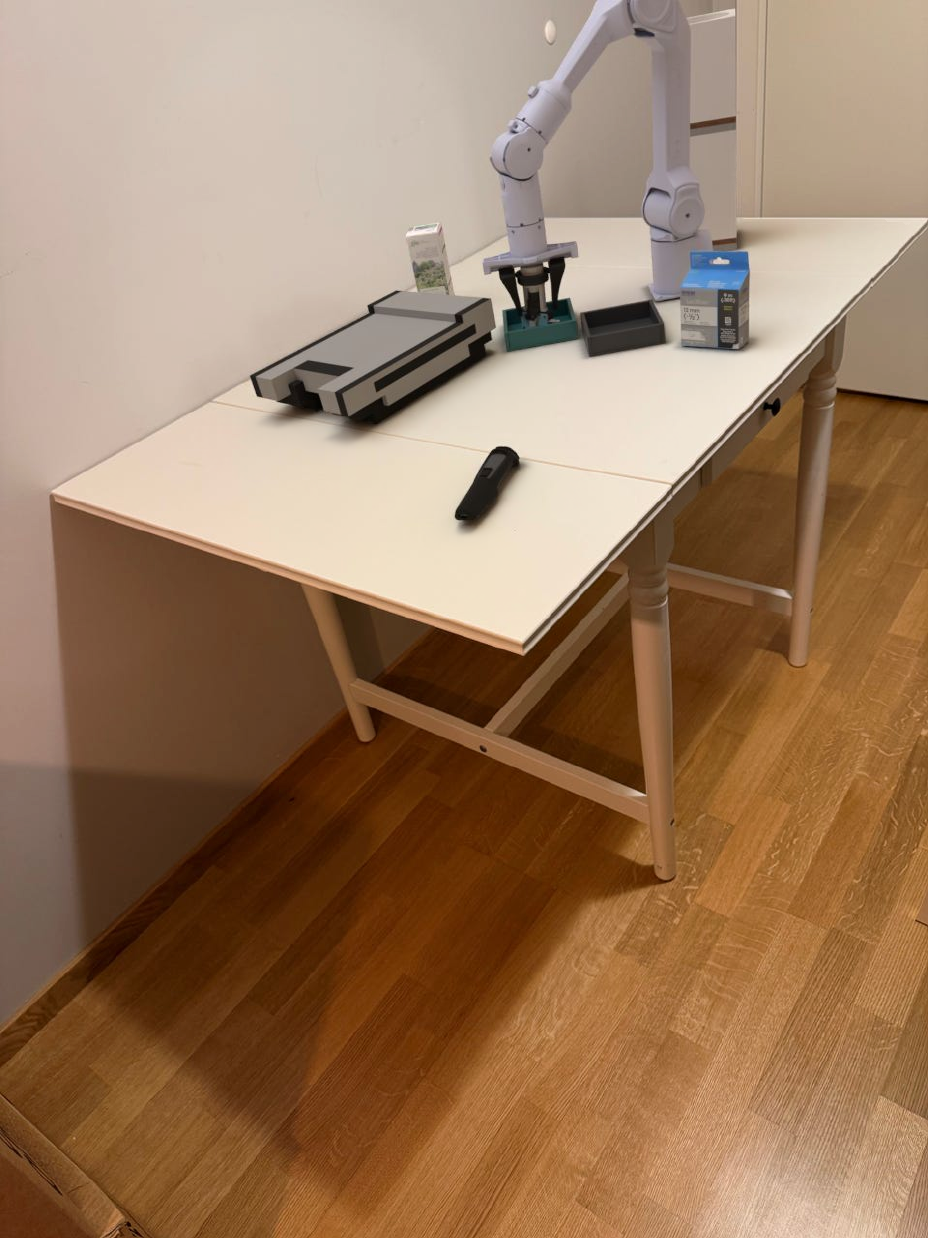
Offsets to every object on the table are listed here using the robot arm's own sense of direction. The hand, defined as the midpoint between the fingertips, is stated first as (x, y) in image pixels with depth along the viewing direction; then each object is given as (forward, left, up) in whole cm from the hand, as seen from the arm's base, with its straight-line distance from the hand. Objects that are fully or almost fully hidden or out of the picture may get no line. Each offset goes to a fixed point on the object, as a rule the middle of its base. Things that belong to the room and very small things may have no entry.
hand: (537, 311), depth 143 cm
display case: (-32, -30, -4) cm, 44 cm away
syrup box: (+17, -20, -4) cm, 27 cm away
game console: (+25, +10, -4) cm, 27 cm away
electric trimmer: (+9, +50, -4) cm, 51 cm away
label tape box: (-24, +17, -4) cm, 30 cm away
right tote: (-12, +8, -3) cm, 15 cm away
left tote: (0, 0, -3) cm, 3 cm away
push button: (0, 0, -3) cm, 3 cm away
